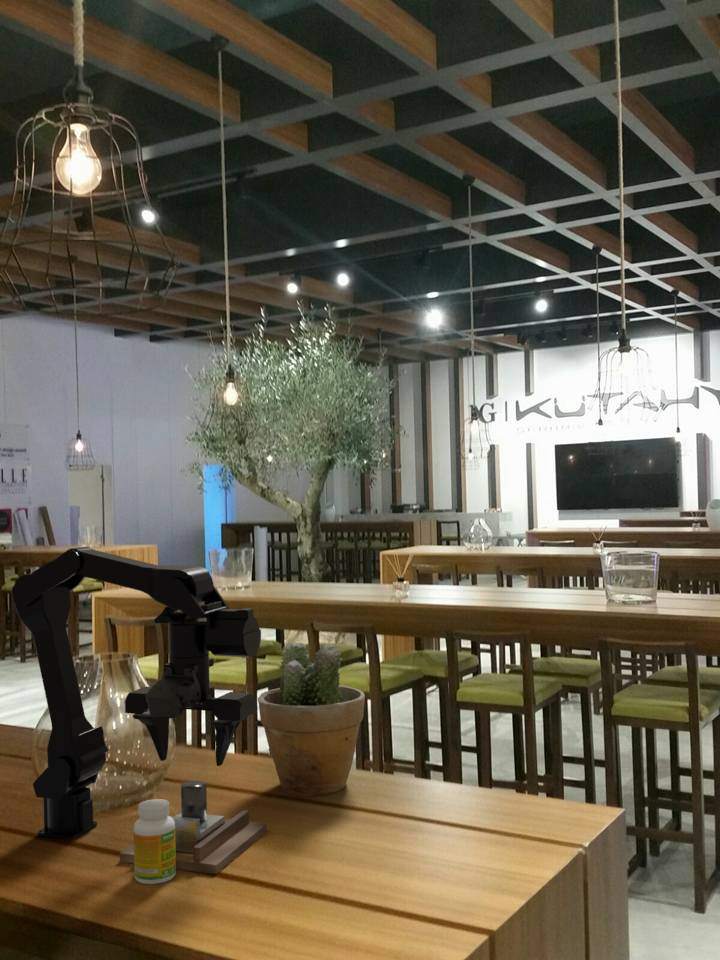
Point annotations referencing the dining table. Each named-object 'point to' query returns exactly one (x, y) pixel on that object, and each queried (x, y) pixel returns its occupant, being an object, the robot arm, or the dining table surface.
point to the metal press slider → (194, 817)
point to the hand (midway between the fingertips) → (191, 762)
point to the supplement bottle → (154, 843)
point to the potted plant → (311, 722)
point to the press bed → (215, 846)
